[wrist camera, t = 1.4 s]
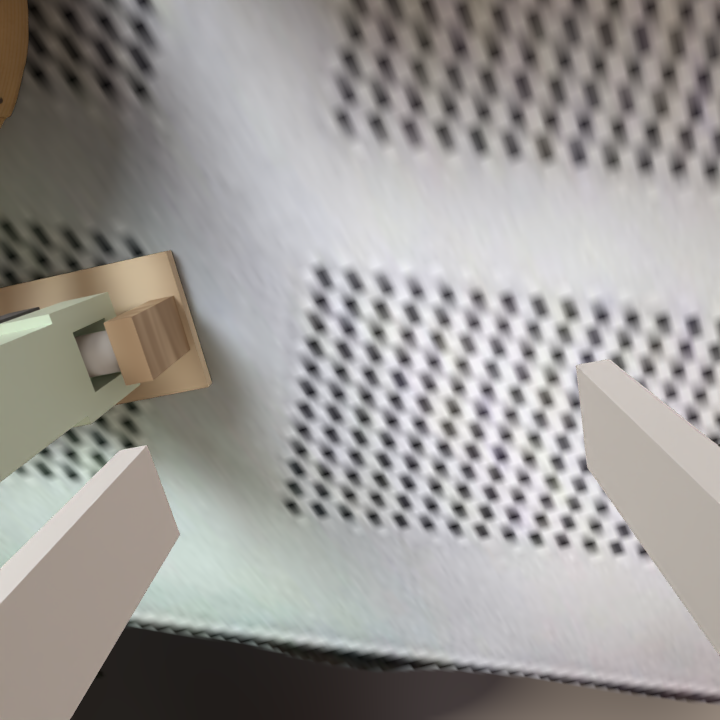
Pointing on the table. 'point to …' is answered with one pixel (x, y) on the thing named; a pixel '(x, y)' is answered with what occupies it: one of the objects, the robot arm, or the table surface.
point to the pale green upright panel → (51, 378)
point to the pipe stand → (129, 323)
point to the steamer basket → (12, 52)
